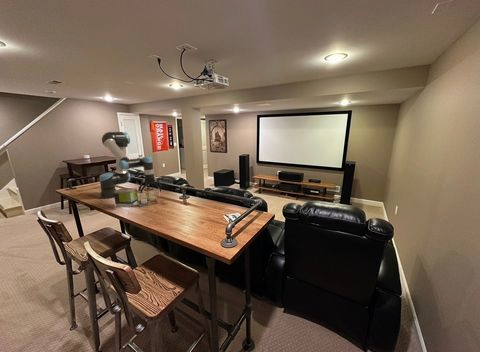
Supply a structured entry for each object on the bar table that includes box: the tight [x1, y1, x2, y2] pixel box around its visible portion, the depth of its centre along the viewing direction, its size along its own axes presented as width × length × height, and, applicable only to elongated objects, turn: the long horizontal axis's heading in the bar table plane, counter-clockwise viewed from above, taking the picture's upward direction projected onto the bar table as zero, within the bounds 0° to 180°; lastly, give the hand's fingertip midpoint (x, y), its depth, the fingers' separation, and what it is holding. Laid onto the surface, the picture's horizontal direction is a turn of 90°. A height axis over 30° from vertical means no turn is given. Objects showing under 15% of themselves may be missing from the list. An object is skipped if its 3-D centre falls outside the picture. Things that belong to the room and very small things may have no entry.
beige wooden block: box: [147, 189, 156, 201], centre depth 177 cm, size 4×4×10 cm
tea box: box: [113, 187, 139, 208], centre depth 168 cm, size 15×10×15 cm, turn 84°
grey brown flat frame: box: [138, 199, 160, 208], centre depth 169 cm, size 9×15×3 cm, turn 123°
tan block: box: [139, 192, 148, 205], centre depth 166 cm, size 4×4×10 cm
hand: (151, 196), depth 177 cm, fingers open, 13 cm apart
